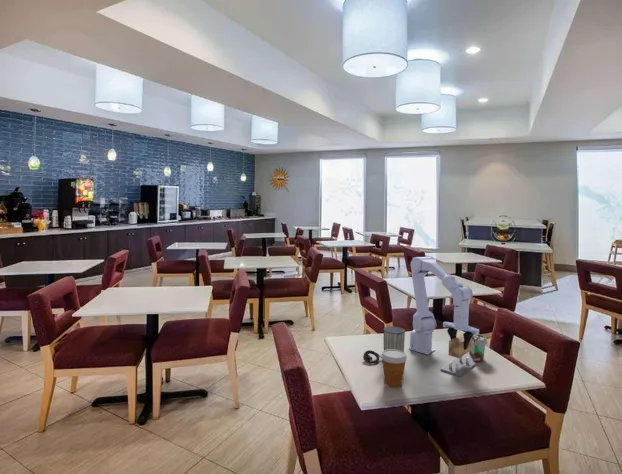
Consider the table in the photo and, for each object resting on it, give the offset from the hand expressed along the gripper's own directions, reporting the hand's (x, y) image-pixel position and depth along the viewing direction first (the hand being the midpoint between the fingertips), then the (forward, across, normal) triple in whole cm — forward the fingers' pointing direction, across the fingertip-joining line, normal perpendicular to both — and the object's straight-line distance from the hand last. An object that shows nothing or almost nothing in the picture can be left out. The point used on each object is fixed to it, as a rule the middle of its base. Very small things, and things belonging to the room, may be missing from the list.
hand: (459, 347), depth 162 cm
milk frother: (+9, -25, -18) cm, 32 cm away
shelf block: (+2, 0, 0) cm, 3 cm away
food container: (+9, +2, +16) cm, 18 cm away
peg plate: (+9, 0, 0) cm, 9 cm away
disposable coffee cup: (+9, -11, -33) cm, 36 cm away
